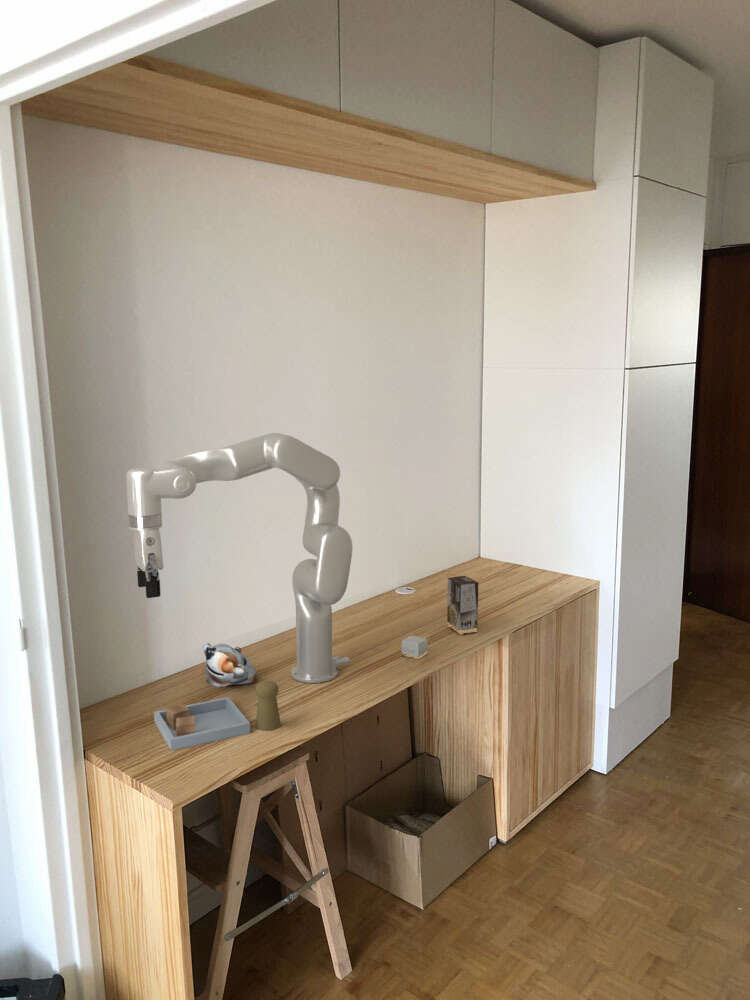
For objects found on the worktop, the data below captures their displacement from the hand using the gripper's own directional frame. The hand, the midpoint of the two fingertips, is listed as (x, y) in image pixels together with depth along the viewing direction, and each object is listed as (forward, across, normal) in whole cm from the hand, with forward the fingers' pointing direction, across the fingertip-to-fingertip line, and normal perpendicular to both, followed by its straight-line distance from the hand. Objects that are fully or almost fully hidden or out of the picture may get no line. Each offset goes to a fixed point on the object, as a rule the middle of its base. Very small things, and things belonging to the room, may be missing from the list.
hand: (149, 591), depth 197 cm
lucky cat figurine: (+30, +7, -21) cm, 38 cm away
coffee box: (+30, +16, -98) cm, 104 cm away
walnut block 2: (+29, -19, -3) cm, 35 cm away
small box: (+30, +3, -74) cm, 80 cm away
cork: (+30, -22, -21) cm, 43 cm away
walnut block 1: (+29, -12, -3) cm, 32 cm away
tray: (+30, -16, -7) cm, 35 cm away
